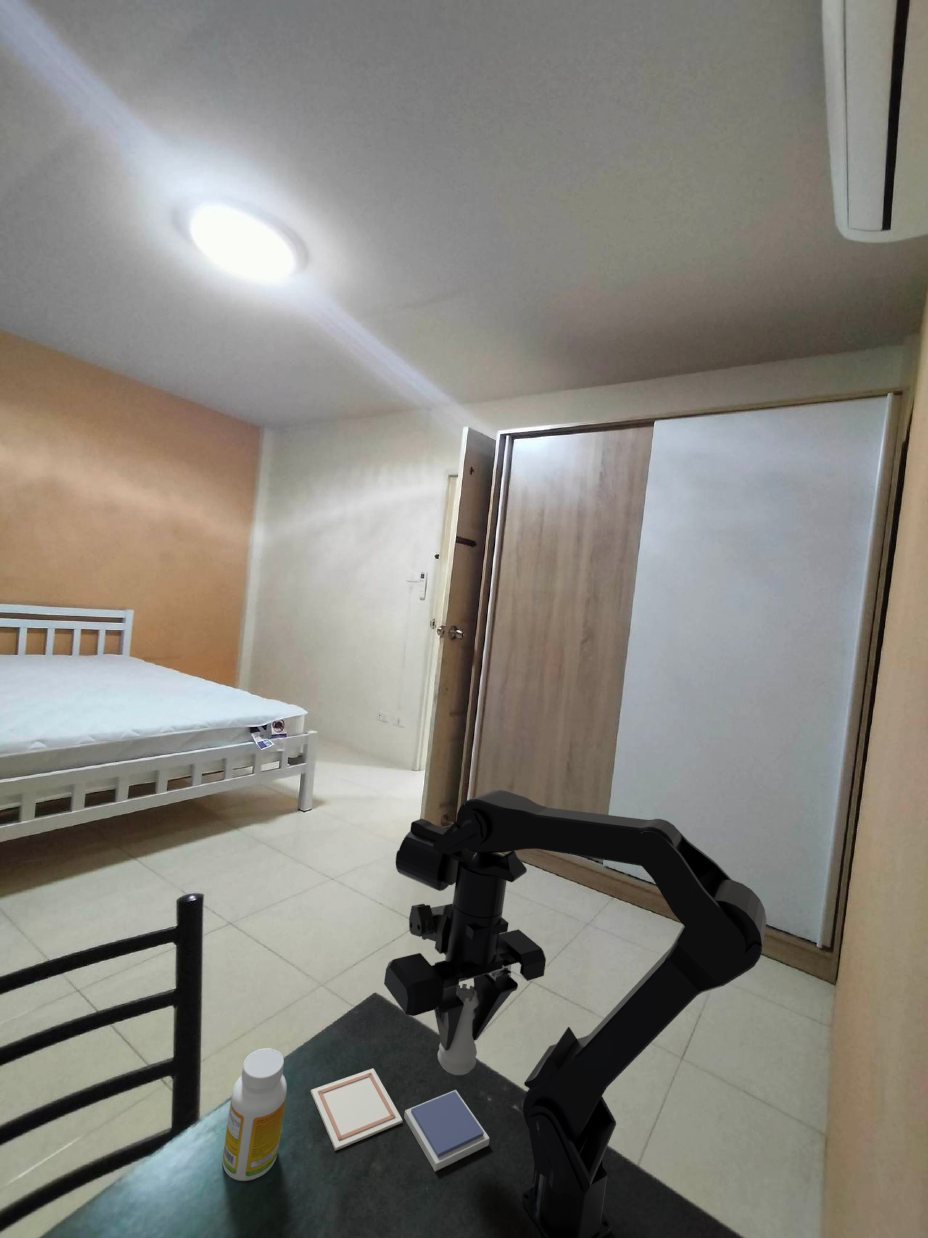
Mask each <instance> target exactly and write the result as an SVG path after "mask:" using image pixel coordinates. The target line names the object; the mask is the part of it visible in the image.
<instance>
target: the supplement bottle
mask: <svg viewBox="0 0 928 1238" xmlns="http://www.w3.org/2000/svg"><path fill="white" fill-rule="evenodd" d="M284 1063H285V1060H284V1056H283V1054H282V1053H281V1052H280V1051H279V1050H276V1049H274V1048H270V1047H263V1048H259V1049H256V1050H254V1051H252V1052H251V1053H249V1054H248V1055H247V1056H246V1058H245V1059H244V1061H243V1064H242V1071H241V1076H240V1077H239V1078H237V1080H236V1082H234V1083H235V1084H234V1085H233V1088H232V1091H231V1096H230V1104H229V1110H228V1116H227V1118H228V1119H227V1124H226V1131H225V1132H226V1133H225V1137H224V1145H223V1150H222V1151H223V1152H222V1165H223V1169H224V1171H225V1173H226V1174H227V1176H229V1177H230V1178H232V1179H233V1180H236V1181H238V1182H239V1181H240V1182H247V1181H253V1180H255V1179H259V1178H261V1177H262V1176H263V1175H265V1174H266V1173H268V1172H269V1170H271V1168H272V1167H273V1165H274V1164H275V1162H276V1159H277V1157H278V1153H279V1148H280V1147H279V1146H280V1141H281V1133H282V1127H283V1118H284V1113H285V1105H286V1098H287V1089H288V1086H287V1085H288V1084H287V1080H286V1078H285V1075H284V1074H283V1072H284V1065H285V1064H284Z"/></svg>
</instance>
